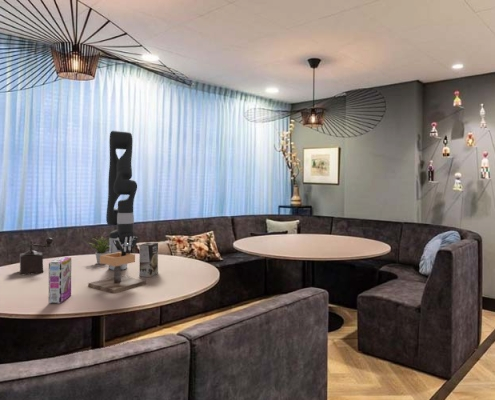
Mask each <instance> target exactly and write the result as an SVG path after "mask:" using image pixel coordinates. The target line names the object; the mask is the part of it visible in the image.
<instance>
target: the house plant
mask: <svg viewBox="0 0 495 400" xmlns="http://www.w3.org/2000/svg"><path fill="white" fill-rule="evenodd" d="M95 237H96V238H93V237H92V240H94V241H95V242H96V243H93V242H88V244H89V245H91V246H92V247H93V248H95V249H96V250H97V251H96V252H95V258H96V263H97V264H98V265H102V263H100V255H106V254H109V253H108V252H109V251H107V249H110V244H109V236H107V237H106V238H103V236H102V235H101V237H100V239H99V238H98V237H97V236H95ZM107 238H108V239H107Z"/></svg>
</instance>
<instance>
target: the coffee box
mask: <svg viewBox="0 0 495 400" xmlns="http://www.w3.org/2000/svg"><path fill="white" fill-rule="evenodd" d="M138 273H139V277H147V278H151V277H153V276H156V275H157V274H158V273H159V242H145V243H142V244H139V272H138Z"/></svg>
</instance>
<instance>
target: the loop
mask: <svg viewBox="0 0 495 400" xmlns="http://www.w3.org/2000/svg"><path fill="white" fill-rule="evenodd" d="M135 262H136V254H134V253H130V254H128V253H126V256H121V252H117V253H111V254H109V253H108V254H106V255H100V263H102V264H103V265H107V266H109V265H111V266H119V265H123V264H127V265H128V264H132V263H135ZM102 264H101V265H102Z"/></svg>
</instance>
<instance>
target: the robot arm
mask: <svg viewBox="0 0 495 400" xmlns="http://www.w3.org/2000/svg"><path fill="white" fill-rule="evenodd" d="M133 142H134V141H133V134H132V133H131V132H130V131H125V130H123V131H122V130H121V131H120V130H111V131H110V133H109V141H108V143H109V168H108V183H107V184H108V186H107V187H108V193H107V194H108V195H107V207H106V214H105V215H106V216H105V217H106V219H105V220H106V224H107V225H108V226H116V228H117V229H115V230H112V231H111V232H110V233H109V236H108V239H109V241H108V242H109V243H108V245H110V246H109V247H110V248H109V250H108V251H107V252H108V254H111V253H117V252H121V256H126V253H128V254H131V250H133V249H134V248H135V246H136V244H137V242H138V239H139V238H138V237H137V236H135V234H134V232H135V215H134V202H135V196H136V193H137V189H138V183H137V181H135V180H134V179H132V177H133V169H132V158H133V157H132V155H133ZM117 150H124V153H123V154H122V155H121V156H120V158H119V156H118V155H117ZM120 196H128V197H127V198H125V199H119V198H120ZM118 199H119V200H118ZM117 200H118V201H117ZM116 203H117V207H115V206H116ZM119 266H120V267H121V271H122V270H127V269H128V264H123V265H119ZM115 267H116V266H111V265H108V269H109V270H112V271H114V268H115Z"/></svg>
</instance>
